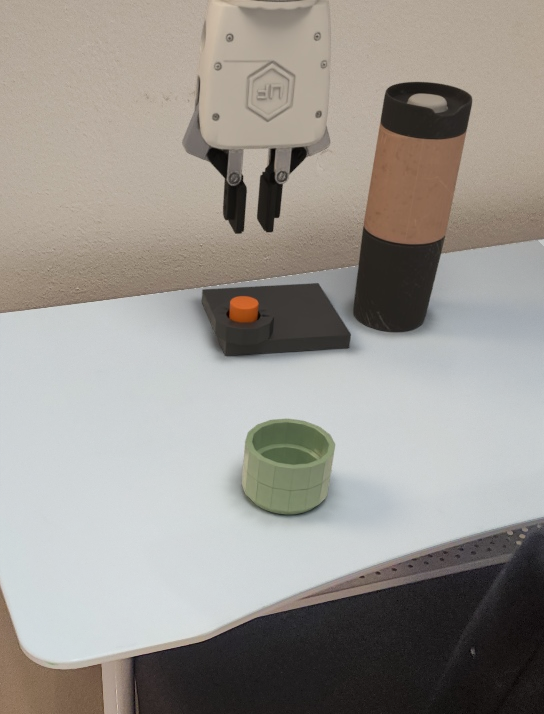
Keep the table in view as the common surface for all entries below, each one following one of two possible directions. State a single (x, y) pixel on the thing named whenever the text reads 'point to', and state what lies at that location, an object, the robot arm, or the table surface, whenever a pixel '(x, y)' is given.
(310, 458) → the bowl
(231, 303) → the button
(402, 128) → the travel mug
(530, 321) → the table surface
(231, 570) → the table surface
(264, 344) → the scale
